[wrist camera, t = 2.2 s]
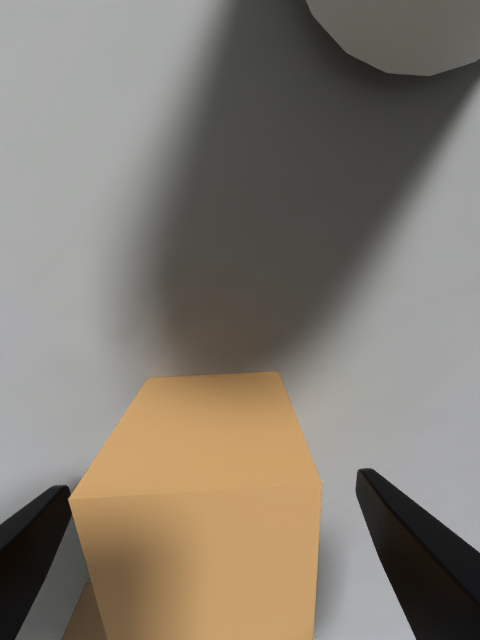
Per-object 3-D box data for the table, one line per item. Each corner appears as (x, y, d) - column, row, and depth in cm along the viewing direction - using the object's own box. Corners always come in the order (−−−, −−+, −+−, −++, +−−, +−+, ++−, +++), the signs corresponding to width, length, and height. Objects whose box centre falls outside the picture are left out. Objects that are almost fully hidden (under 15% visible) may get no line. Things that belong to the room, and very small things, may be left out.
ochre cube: (278, 370, 10) (321, 484, 5) (278, 474, 11) (312, 642, 6) (148, 377, 10) (68, 499, 5) (164, 480, 11) (112, 656, 6)
